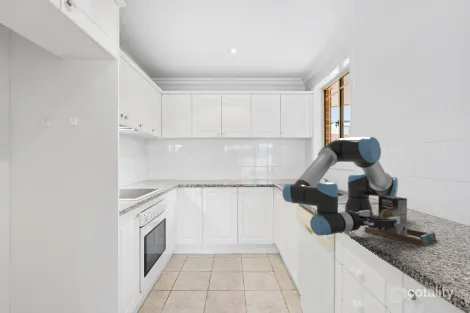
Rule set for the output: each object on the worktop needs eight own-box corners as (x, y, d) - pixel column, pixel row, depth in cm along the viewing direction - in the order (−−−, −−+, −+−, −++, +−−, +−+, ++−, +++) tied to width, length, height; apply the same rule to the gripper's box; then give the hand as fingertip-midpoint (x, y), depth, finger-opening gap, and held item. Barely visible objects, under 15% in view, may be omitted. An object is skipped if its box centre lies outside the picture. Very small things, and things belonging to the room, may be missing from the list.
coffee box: (377, 231, 115) (377, 195, 115) (387, 230, 117) (387, 194, 117) (397, 237, 106) (397, 198, 106) (407, 235, 109) (407, 197, 109)
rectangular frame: (380, 226, 123) (380, 220, 123) (435, 239, 104) (435, 231, 104) (364, 231, 115) (364, 224, 115) (421, 245, 97) (421, 237, 97)
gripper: (323, 223, 112) (358, 218, 120) (375, 240, 89) (413, 233, 98) (323, 206, 112) (358, 202, 120) (375, 218, 89) (413, 213, 98)
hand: (383, 216), depth 109 cm, fingers open, 13 cm apart
